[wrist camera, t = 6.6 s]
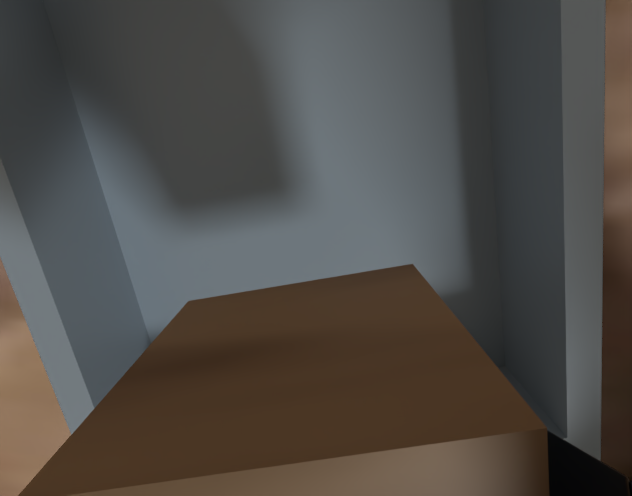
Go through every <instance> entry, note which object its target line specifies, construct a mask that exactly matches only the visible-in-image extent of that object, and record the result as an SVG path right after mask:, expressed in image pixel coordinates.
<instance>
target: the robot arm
mask: <svg viewBox="0 0 632 496" xmlns="http://www.w3.org/2000/svg"><path fill="white" fill-rule="evenodd" d="M547 440H548V470H549V496H632V481H630V482H629V479H628V477H627V476H625V475H623V474H622V473H620V472H618V471H617V470H615V469H613V468H611V467H610V466H608V465H606V464H605V463H603V462H601V461H600V460H598V459H596V458H594V457H593V456H591V455H589V454H588V453H586V452H584V451H583V450H581V449H579V448H577V447H576V446H574V445H572V444H571V443H569V442H567V441H566V440H564V439H562V438H560V437H559V436H557V435H555V434H554V433H552V432H550V431H549V430H547Z"/></svg>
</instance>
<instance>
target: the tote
mask: <svg viewBox="0 0 632 496" xmlns="http://www.w3.org/2000/svg"><path fill="white" fill-rule="evenodd" d="M605 2H606V0H0V257H1V260H2V262H3V265H4V267H5V270H6V272H7V275H8V277H9V280H10V282H11V285H12V287H13V290H14V292H15V295H16V297H17V300H18V302H19V305H20V307H21V310H22V312H23V315H24V317H25V320H26V322H27V325H28V327H29V330H30V332H31V335H32V337H33V340H34V342H35V345H36V347H37V350H38V352H39V355H40V357H41V360H42V362H43V365H44V367H45V370H46V372H47V375H48V377H49V380H50V382H51V385H52V387H53V390H54V392H55V395H56V397H57V400H58V402H59V405H60V407H61V410H62V412H63V415H64V417H65V420H66V422H67V425H68V427H69V430H70V432H71V435H72V434H73V432H74V431H75V430H76V429H77V428H78V427H79V426H80V424H81V423H82V422H83V421H84V420H85V419H86V418H87V416H88V415H89V414H90V413H91V412H92V411H93V410H94V408H95V407H96V406H97V405H98V404H99V403H100V402H101V400H102V399H103V398H104V397H105V396H106V395H107V394H108V392H109V391H110V390H111V389H112V388H113V387H114V385H115V384H116V383H117V382H118V381H119V380H120V379H121V377H122V376H123V375H124V374H125V373H126V372H127V371H128V369H129V368H130V367H131V366H132V365H133V364H134V363H135V361H136V360H137V359H138V358H139V357H140V356H141V355H142V353H143V352H144V351H145V350H146V349H147V348H148V347H149V345H150V344H151V343H152V342H153V341H154V340H155V339H156V337H157V336H158V335H159V334H160V333H161V332H162V331H163V329H164V328H165V327H166V326H167V325H168V324H169V323H170V321H171V320H172V319H173V318H174V317H175V316H176V315H177V313H178V312H179V311H180V310H181V309H182V308H183V307H184V305H185V304H186V303H187V302H188V301H191V300H197V299H203V298H209V297H215V296H221V295H227V294H233V293H239V292H245V291H251V290H257V289H263V288H270V287H276V286H282V285H288V284H294V283H300V282H306V281H312V280H318V279H324V278H330V277H336V276H342V275H348V274H354V273H360V272H366V271H372V270H378V269H384V268H390V267H396V266H402V265H408V264H413V265H414V266H415V267H416V268H417V270H418V271H419V272H420V273H421V275H422V276H423V277H424V278H425V279H426V281H427V282H428V283H429V284H430V286H431V287H432V288H433V289H434V290H435V292H436V293H437V294H438V295H439V297H440V298H441V299H442V300H443V301H444V303H445V304H446V305H447V306H448V308H449V309H450V310H451V311H452V312H453V314H454V315H455V316H456V317H457V319H458V320H459V321H460V322H461V323H462V325H463V326H464V327H465V328H466V329H467V331H468V332H469V333H470V334H471V336H472V337H473V338H474V339H475V340H476V342H477V343H478V344H479V345H480V347H481V348H482V349H483V350H484V351H485V353H486V354H487V355H488V356H489V358H490V359H491V360H492V361H493V362H494V364H495V365H496V366H497V367H498V369H499V370H500V371H501V372H502V373H503V375H504V376H505V377H506V378H507V380H508V381H509V382H510V383H511V384H512V386H513V387H514V388H515V389H516V391H517V392H518V393H519V394H520V395H521V397H522V398H523V399H524V400H525V402H526V403H527V404H528V405H529V406H530V408H531V409H532V410H533V411H534V413H535V414H536V415H537V416H538V417H539V419H540V420H541V421H542V422H543V424H544V425H545V426H546V427H547V430H549V431H550V432H552V433H554V434H555V435H557V436H559V437H560V438H562V439H564V440H566V441H567V442H569V443H571V444H572V445H574V446H576V447H577V448H579V449H581V450H583V451H584V452H586V453H588V454H589V455H591V456H593V457H594V458H596V459H598V460H601V381H602V286H603V191H604V96H605Z"/></svg>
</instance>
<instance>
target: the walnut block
mask: <svg viewBox="0 0 632 496" xmlns="http://www.w3.org/2000/svg"><path fill="white" fill-rule="evenodd" d="M18 496H549V470H548V440H547V427H546V426H545V425H544V424H543V422H542V421H541V420H540V419H539V417H538V416H537V415H536V414H535V413H534V411H533V410H532V409H531V408H530V406H529V405H528V404H527V403H526V402H525V400H524V399H523V398H522V397H521V395H520V394H519V393H518V392H517V391H516V389H515V388H514V387H513V386H512V384H511V383H510V382H509V381H508V380H507V378H506V377H505V376H504V375H503V373H502V372H501V371H500V370H499V369H498V367H497V366H496V365H495V364H494V362H493V361H492V360H491V359H490V358H489V356H488V355H487V354H486V353H485V351H484V350H483V349H482V348H481V347H480V345H479V344H478V343H477V342H476V340H475V339H474V338H473V337H472V336H471V334H470V333H469V332H468V331H467V329H466V328H465V327H464V326H463V325H462V323H461V322H460V321H459V320H458V319H457V317H456V316H455V315H454V314H453V312H452V311H451V310H450V309H449V308H448V306H447V305H446V304H445V303H444V301H443V300H442V299H441V298H440V297H439V295H438V294H437V293H436V292H435V290H434V289H433V288H432V287H431V286H430V284H429V283H428V282H427V281H426V279H425V278H424V277H423V276H422V275H421V273H420V272H419V271H418V270H417V268H416V267H415V266H414V265H413V264H408V265H402V266H396V267H390V268H384V269H378V270H372V271H366V272H360V273H354V274H348V275H342V276H336V277H330V278H324V279H318V280H312V281H306V282H300V283H294V284H288V285H282V286H276V287H270V288H263V289H257V290H251V291H245V292H239V293H233V294H227V295H221V296H215V297H209V298H203V299H197V300H191V301H188V302H187V303H186V304H185V305H184V307H183V308H182V309H181V310H180V311H179V312H178V313H177V315H176V316H175V317H174V318H173V319H172V320H171V321H170V323H169V324H168V325H167V326H166V327H165V328H164V329H163V331H162V332H161V333H160V334H159V335H158V336H157V337H156V339H155V340H154V341H153V342H152V343H151V344H150V345H149V347H148V348H147V349H146V350H145V351H144V352H143V353H142V355H141V356H140V357H139V358H138V359H137V360H136V361H135V363H134V364H133V365H132V366H131V367H130V368H129V369H128V371H127V372H126V373H125V374H124V375H123V376H122V377H121V379H120V380H119V381H118V382H117V383H116V384H115V385H114V387H113V388H112V389H111V390H110V391H109V392H108V394H107V395H106V396H105V397H104V398H103V399H102V400H101V402H100V403H99V404H98V405H97V406H96V407H95V408H94V410H93V411H92V412H91V413H90V414H89V415H88V416H87V418H86V419H85V420H84V421H83V422H82V423H81V424H80V426H79V427H78V428H77V429H76V430H75V431H74V432H73V434H72V435H71V436H70V437H69V438H68V439H67V440H66V442H65V443H64V444H63V445H62V446H61V447H60V448H59V450H58V451H57V452H56V453H55V454H54V455H53V456H52V458H51V459H50V460H49V461H48V462H47V463H46V464H45V466H44V467H43V468H42V469H41V470H40V471H39V472H38V474H37V475H36V476H35V477H34V478H33V479H32V481H31V482H30V483H29V484H28V485H27V486H26V487H25V489H24V490H23V491H22V492H21V493H20V494H19V495H18Z"/></svg>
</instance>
